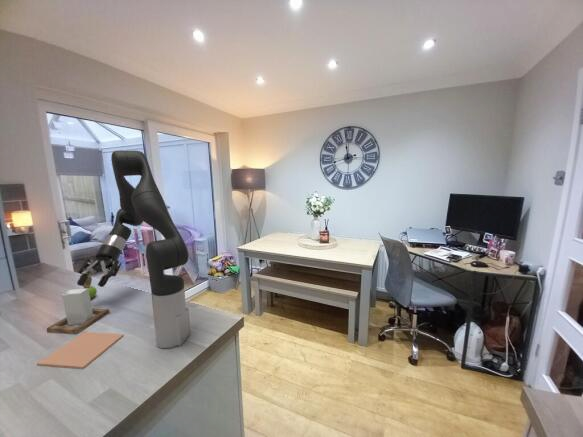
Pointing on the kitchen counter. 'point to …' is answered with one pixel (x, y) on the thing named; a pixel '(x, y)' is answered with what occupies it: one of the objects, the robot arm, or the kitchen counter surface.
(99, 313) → the walnut collar
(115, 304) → the kitchen counter surface
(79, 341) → the terracotta mat
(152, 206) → the robot arm
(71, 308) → the skincare box
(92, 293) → the snail figurine
